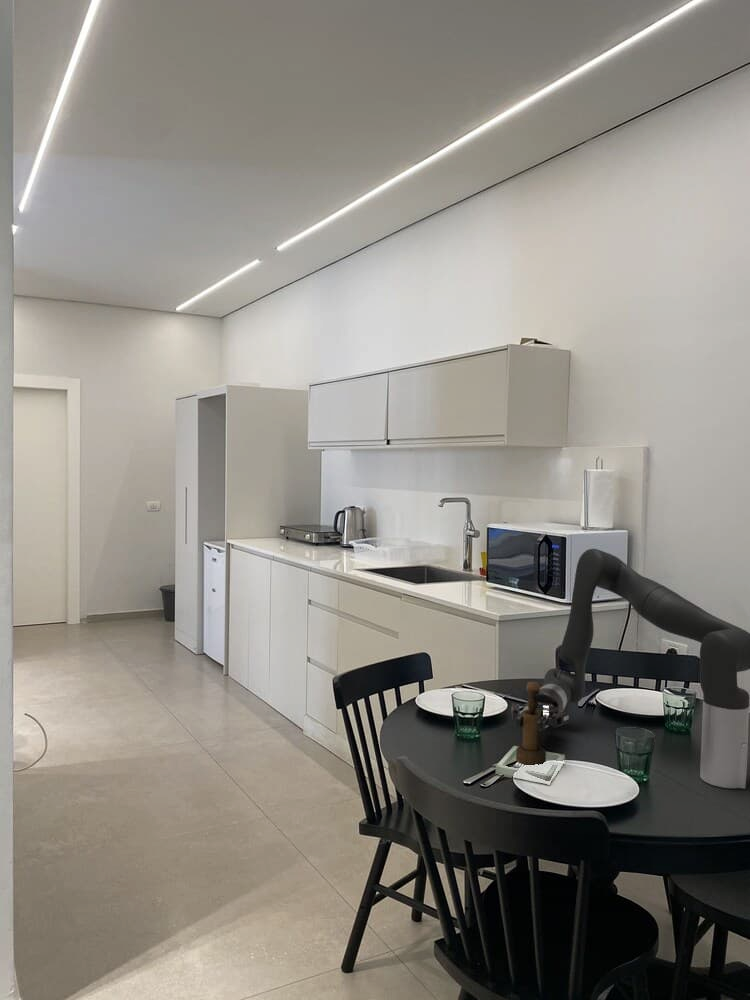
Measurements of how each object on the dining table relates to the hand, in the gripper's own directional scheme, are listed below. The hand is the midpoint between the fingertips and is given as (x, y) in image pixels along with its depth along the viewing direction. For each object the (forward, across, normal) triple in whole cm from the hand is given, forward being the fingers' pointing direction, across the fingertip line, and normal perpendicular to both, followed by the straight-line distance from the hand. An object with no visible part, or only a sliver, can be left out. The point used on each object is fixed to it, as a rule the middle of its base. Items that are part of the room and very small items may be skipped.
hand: (528, 724), depth 179 cm
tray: (-2, 0, +11) cm, 11 cm away
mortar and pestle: (-3, 0, +9) cm, 10 cm away
